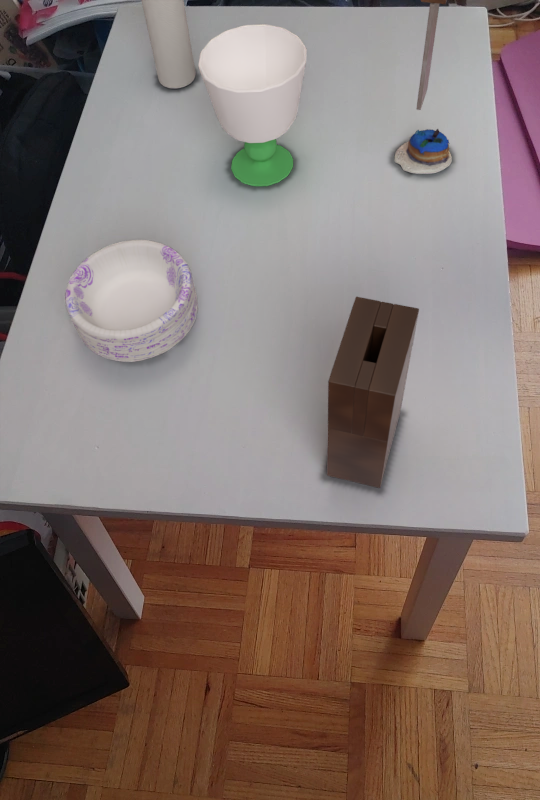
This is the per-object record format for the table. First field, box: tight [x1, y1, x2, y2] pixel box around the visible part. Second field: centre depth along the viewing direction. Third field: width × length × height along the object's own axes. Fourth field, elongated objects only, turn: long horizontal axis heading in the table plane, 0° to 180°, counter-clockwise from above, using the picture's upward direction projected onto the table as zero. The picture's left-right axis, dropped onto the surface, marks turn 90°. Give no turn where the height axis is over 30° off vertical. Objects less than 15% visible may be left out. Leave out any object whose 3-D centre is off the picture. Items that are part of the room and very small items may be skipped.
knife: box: [415, 0, 448, 111], centre depth 56 cm, size 2×3×17 cm, turn 162°
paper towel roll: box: [140, 0, 197, 89], centre depth 102 cm, size 7×6×21 cm
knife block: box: [326, 296, 420, 489], centre depth 71 cm, size 6×10×18 cm, turn 163°
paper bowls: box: [64, 239, 199, 363], centre depth 85 cm, size 15×15×8 cm
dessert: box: [393, 128, 453, 175], centre depth 98 cm, size 8×7×6 cm
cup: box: [198, 23, 308, 187], centre depth 94 cm, size 14×14×16 cm
